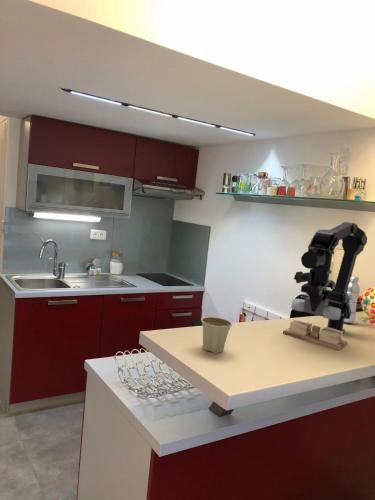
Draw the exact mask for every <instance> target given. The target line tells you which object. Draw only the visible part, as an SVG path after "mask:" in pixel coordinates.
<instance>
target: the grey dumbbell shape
mask: <svg viewBox="0 0 375 500" xmlns="http://www.w3.org/2000/svg"><path fill="white" fill-rule="evenodd" d="M291 309H292V310H293V311H297V312H304V313H308V314H311V315H315V316H319V317H323V318H325V319H332V320H339V319H340V314H341V309H339V308H336V307H331V306H328V300H326V299H325V300H323V299H321V301H320V303H319V305H318V307H317V309H316V310H315V312H314V311H312V310H311V303H310V297H309V295H308V296H305V297H304V299H302V298H293V299H292V301H291Z"/></svg>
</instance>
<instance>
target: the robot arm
mask: <svg viewBox="0 0 375 500" xmlns="http://www.w3.org/2000/svg"><path fill="white" fill-rule="evenodd" d="M367 236H368V235H366V232H365V231H364V230H362V229H361V228H360V227H359V226H358V224H357V223H355V222H348V221H343V222H341V224H339V225H337V226H334V227H332V228H330V229H318V230H316V232H315V233H314V234H313V236H312V238H311V241H310V242H309V244H308V246H307V251H305V252H304V253H303V254H302V256H301V260H300V262H301V265H302V266H303V267H304V268H306V269H308V270H309V272H303V271H302V270H301V271H296V272H295V274H294V277H293V280H295V282H296V284H301V283H304V284H302V285H301V287H300V292H301V293H305V294H306V295H308V296H309V297H310V303H311V310H312V311H314V312H315V310H316V309H317V307H318V305H319V303H320V301H321V299H323V300H328V306H331V307H336V308H339V309H341V314H340V319H339V320H332V319H328V320H327V326H326V327H328V328H332V329H336V330H339V331H343V333H345V332H346V329H344V324H345V322H344V319H350V316H351V309H350V306H349V300H350V299H349V296H348V293H347V290H348V287H349V283H350V279H351V276H353V271H354V268H355V264H356V261H357V257H358V255H359V254H361V253H362V252H363V251H364V249H365V247H366V245H367V243H368V237H367ZM340 240H341V241H342V242H341V246H342V249H343V256H342V259H341V263H340V267H339V271H338V273H337V278H336V281H334V280H332V279H329V278H330V275H331V274H332V269H331V265H332V261H333V255H335V249H336V248H337V246H338V245H339V242H340ZM305 282H306V283H305ZM328 288H330V289H328Z"/></svg>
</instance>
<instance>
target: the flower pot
mask: <svg viewBox="0 0 375 500" xmlns="http://www.w3.org/2000/svg"><path fill="white" fill-rule="evenodd" d="M200 321H201V326H202V348H203V349H204V350H205V351H210V352H212V353H221V352H223V351H224V348H225V345H226V342H227V338H228V334H229V331H230V330H231V327H232V326H233V323H232V321H230V320H228V319H225V318H222V317H217V316H216V317H215V316H205V317H202V318H201V319H200Z"/></svg>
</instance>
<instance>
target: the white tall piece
mask: <svg viewBox="0 0 375 500" xmlns="http://www.w3.org/2000/svg"><path fill="white" fill-rule="evenodd" d="M347 293H348V296H349V299H350V300H349V306H350V309H351V316H350V319H344V324H353V323H355V322H356V320H357V314H356V313H357V304H358V298H359V296H360V293H361V288H360V285H359V276H355V275H352V276H351V279H350V283H349V287H348V290H347Z"/></svg>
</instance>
